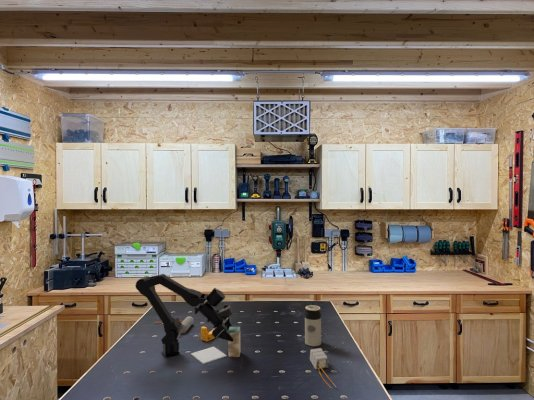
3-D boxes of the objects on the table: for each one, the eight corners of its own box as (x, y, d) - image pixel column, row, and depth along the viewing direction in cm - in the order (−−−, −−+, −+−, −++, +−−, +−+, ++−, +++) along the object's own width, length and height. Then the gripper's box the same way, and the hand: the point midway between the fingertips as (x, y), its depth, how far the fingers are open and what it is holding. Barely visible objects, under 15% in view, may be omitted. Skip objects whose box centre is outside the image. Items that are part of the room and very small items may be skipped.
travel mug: (309, 338, 177) (309, 304, 177) (323, 342, 173) (323, 306, 173) (302, 344, 171) (301, 308, 171) (316, 348, 166) (316, 311, 166)
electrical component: (345, 395, 132) (346, 384, 131) (331, 398, 131) (332, 386, 130) (319, 356, 155) (320, 346, 154) (307, 358, 153) (308, 348, 152)
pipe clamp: (206, 342, 175) (206, 329, 175) (200, 340, 177) (200, 327, 177) (223, 334, 184) (223, 322, 184) (218, 332, 187) (217, 320, 187)
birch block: (228, 356, 158) (228, 330, 158) (229, 351, 163) (229, 326, 163) (239, 356, 158) (239, 330, 158) (240, 352, 163) (240, 326, 163)
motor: (196, 321, 203) (194, 313, 203) (184, 337, 181) (182, 327, 181) (158, 327, 205) (156, 319, 205) (141, 343, 183) (140, 333, 183)
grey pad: (203, 364, 151) (203, 363, 151) (190, 354, 160) (190, 353, 160) (226, 356, 158) (226, 355, 158) (213, 347, 168) (213, 346, 168)
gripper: (218, 307, 151) (244, 332, 151) (225, 295, 170) (248, 317, 170) (201, 325, 152) (226, 350, 151) (209, 311, 170) (232, 333, 170)
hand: (234, 336), depth 160 cm, fingers open, 9 cm apart
